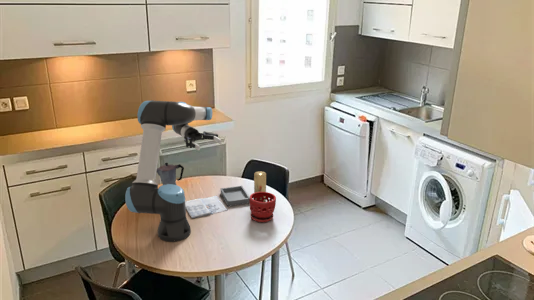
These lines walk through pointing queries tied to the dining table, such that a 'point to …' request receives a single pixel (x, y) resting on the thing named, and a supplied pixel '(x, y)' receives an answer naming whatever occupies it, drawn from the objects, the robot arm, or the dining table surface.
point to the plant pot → (262, 206)
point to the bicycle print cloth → (199, 209)
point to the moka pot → (169, 173)
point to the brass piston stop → (260, 183)
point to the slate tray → (235, 196)
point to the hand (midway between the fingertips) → (210, 144)
